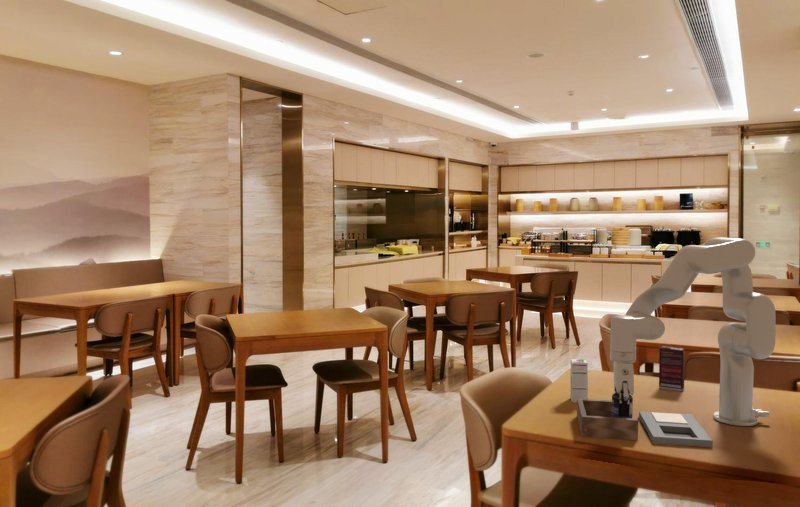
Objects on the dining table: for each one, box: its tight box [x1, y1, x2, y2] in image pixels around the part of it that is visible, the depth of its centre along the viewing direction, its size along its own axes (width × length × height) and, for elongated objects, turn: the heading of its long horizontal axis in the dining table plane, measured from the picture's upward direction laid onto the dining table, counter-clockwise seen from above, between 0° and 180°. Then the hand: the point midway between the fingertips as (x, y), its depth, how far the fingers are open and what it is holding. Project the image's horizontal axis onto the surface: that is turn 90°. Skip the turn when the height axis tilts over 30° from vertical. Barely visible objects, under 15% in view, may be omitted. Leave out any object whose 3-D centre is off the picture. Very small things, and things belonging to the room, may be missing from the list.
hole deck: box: [638, 410, 714, 448], centre depth 190 cm, size 16×24×2 cm, turn 168°
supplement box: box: [658, 345, 686, 392], centre depth 236 cm, size 9×5×16 cm, turn 58°
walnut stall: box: [576, 398, 639, 441], centre depth 193 cm, size 16×19×6 cm
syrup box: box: [570, 358, 589, 404], centre depth 221 cm, size 6×6×14 cm
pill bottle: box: [611, 387, 634, 419], centre depth 192 cm, size 6×6×11 cm
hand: (622, 412), depth 192 cm, fingers closed on pill bottle, 6 cm apart
